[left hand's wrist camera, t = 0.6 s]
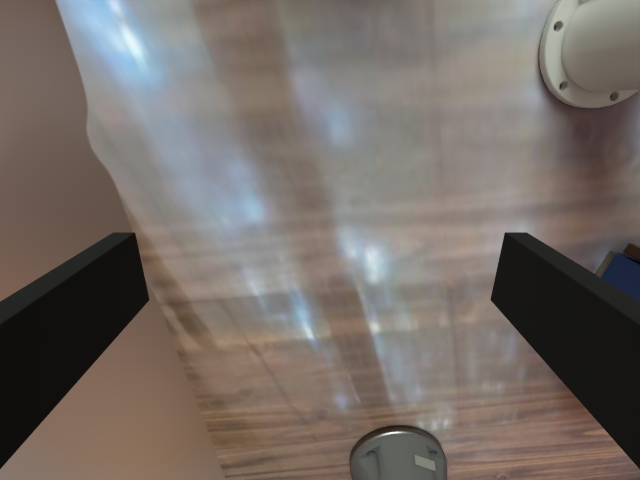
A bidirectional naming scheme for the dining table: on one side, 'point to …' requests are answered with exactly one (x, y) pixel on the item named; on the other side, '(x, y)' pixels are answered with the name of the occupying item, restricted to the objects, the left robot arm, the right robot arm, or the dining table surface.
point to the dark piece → (633, 250)
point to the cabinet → (621, 273)
